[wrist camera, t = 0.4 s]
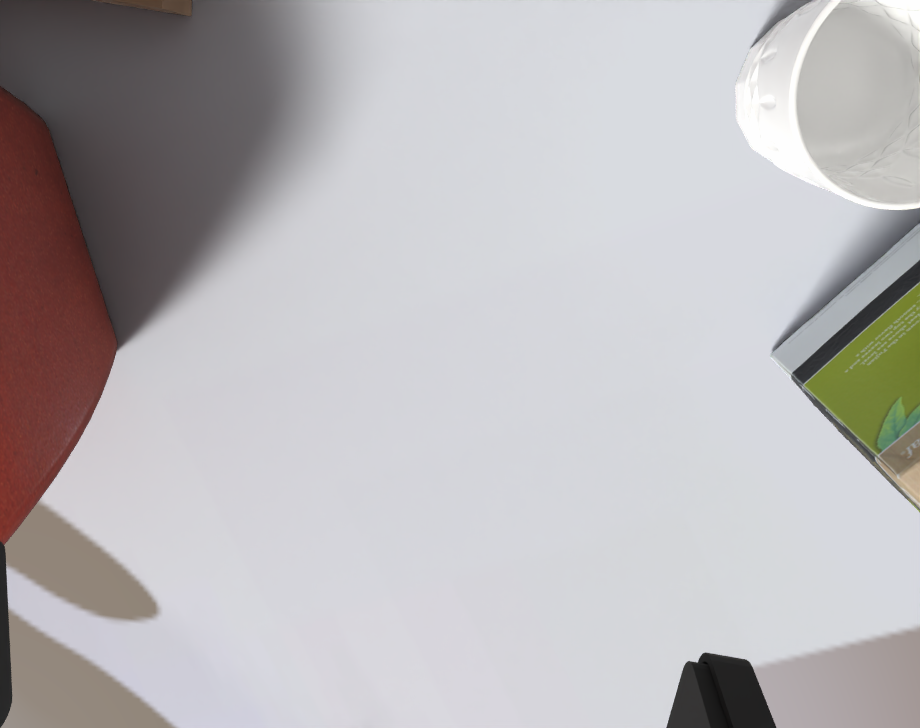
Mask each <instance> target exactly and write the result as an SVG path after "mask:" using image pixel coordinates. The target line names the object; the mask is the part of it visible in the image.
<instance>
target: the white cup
mask: <svg viewBox="0 0 920 728" xmlns="http://www.w3.org/2000/svg"><path fill="white" fill-rule="evenodd" d="M735 97H736V121H737V122H738V124H739V126H740V128H741V130H742V132H743V134H744V135H745V137H746V139H747V141H748V143H749V145H750V147H751V148H752V150H754V151H755V152H757V153H758V154H760V155H761V156H763V157H765V158H766V159H768V160H769V161H771V162H772V163H774V164H775V165H776V166H778V167H779V168H781V169H782V170H784V171H786V172H788V173H790V174H792V175H794V176H796V177H798V178H800V179H802V180H803V181H805V182H807V183H810V184H812V185H814V186H817V187H819V188H822V189H824V190H827V191H829V192H832V193H834V194H836V195H839V196H841V197H843V198H846V199H848V200H850V201H853V202H855V203H858V204H861V205H864V206H868V207H873V208H878V209H887V210H906V209H915V208H920V0H812V1H811V2H809V3H807V4H805V5H804V6H802V7H800V8H799V9H797V10H796V11H795V12H793V13H792V14H790V15H789V16H788V17H786V18H784V19H782V20H780V21H778V22H777V23H776V24H775V25H774V26H773V27H772V28H771V29H770V30H769V31H768V32H767V33H766V34H765V35H764V36H763V37H762V38H761V39H760V40H759V41H758V42H757V43H756V44H755V45H754V46H753V47H752V48H751V49H750V50H749V52H748V55H747V57H746V60H745V62H744V64H743V67H742V69H741V72H740V74H739V76H738V79H737V81H736V84H735Z"/></svg>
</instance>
